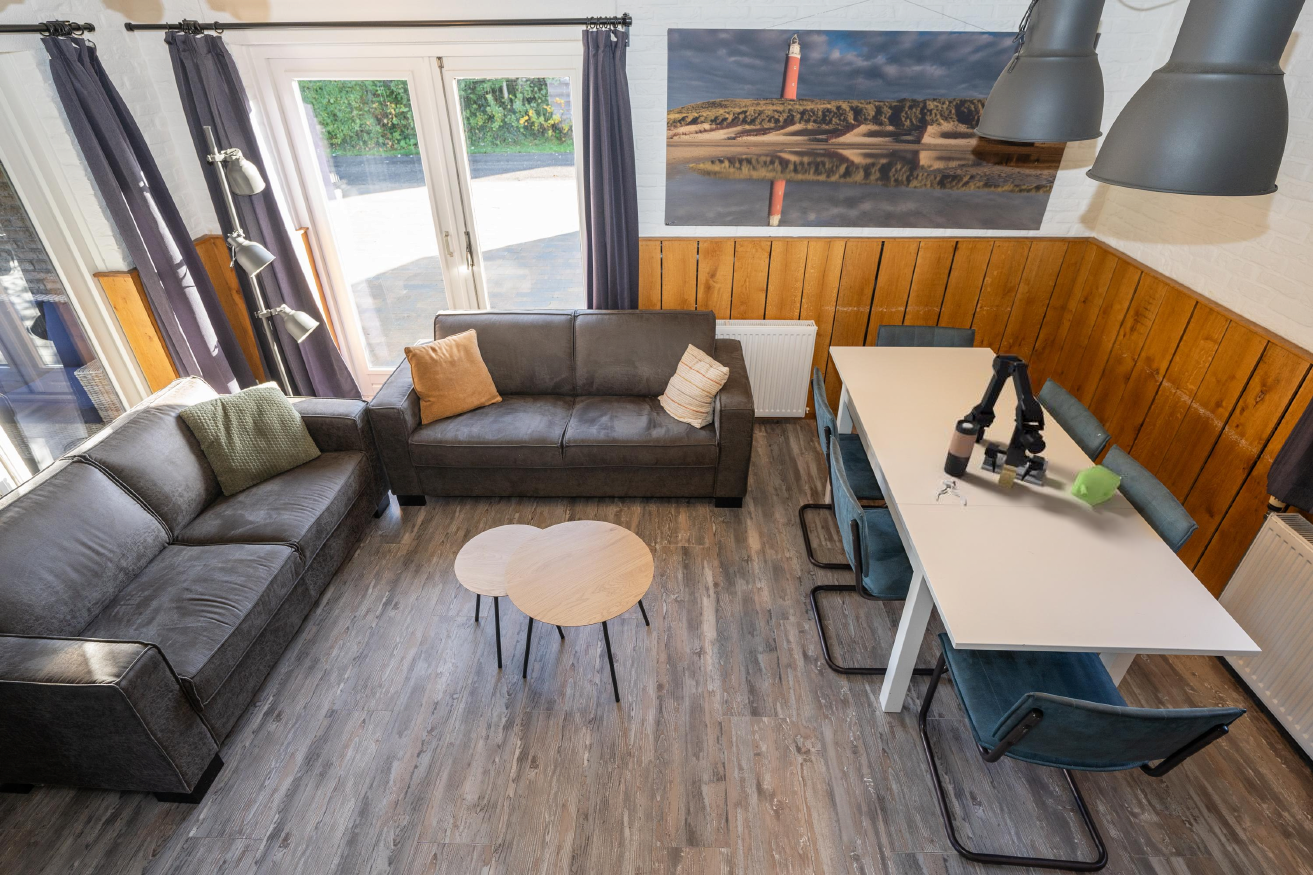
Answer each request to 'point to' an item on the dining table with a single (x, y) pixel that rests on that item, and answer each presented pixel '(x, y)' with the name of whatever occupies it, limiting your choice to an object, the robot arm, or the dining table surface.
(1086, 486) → the green lump
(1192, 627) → the dining table surface
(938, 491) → the white thin branched piece
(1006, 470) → the banded gold block
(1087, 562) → the dining table surface
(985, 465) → the grey bracketed cradle
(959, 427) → the travel mug
